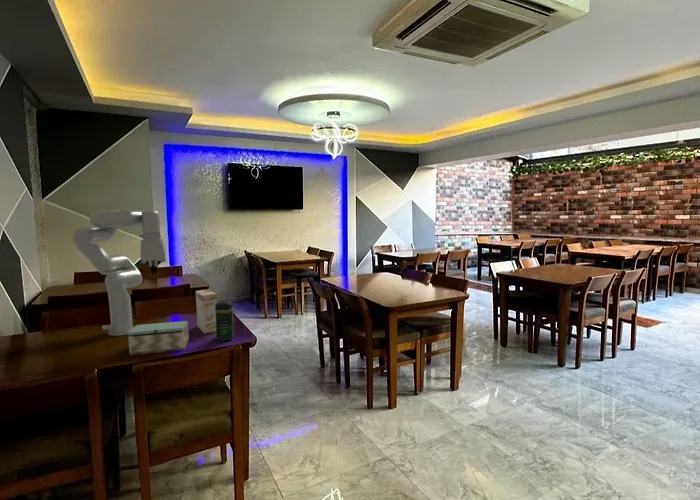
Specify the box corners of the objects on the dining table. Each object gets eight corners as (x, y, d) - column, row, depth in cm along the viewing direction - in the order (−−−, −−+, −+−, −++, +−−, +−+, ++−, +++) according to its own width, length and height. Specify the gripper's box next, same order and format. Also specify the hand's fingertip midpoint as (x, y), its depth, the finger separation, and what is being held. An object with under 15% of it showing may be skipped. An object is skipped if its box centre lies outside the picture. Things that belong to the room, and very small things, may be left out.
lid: (127, 335, 169) (127, 332, 169) (137, 327, 184) (136, 324, 184) (182, 331, 175) (182, 327, 174) (187, 323, 189) (187, 320, 189)
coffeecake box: (218, 331, 203) (216, 293, 201) (204, 333, 199) (202, 295, 197) (210, 324, 215) (208, 288, 213) (197, 326, 211) (194, 290, 209)
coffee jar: (232, 341, 187) (230, 302, 185) (215, 342, 186) (213, 303, 184) (235, 334, 197) (233, 298, 195) (219, 335, 196) (217, 298, 194)
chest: (129, 355, 171) (128, 337, 170) (138, 344, 185) (137, 327, 184) (184, 349, 177) (183, 332, 176) (188, 339, 190) (187, 323, 189)
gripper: (132, 237, 184) (135, 276, 186) (167, 236, 188) (169, 274, 190) (136, 236, 192) (139, 274, 194) (170, 235, 195) (172, 272, 197)
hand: (154, 274), depth 192 cm, fingers closed
